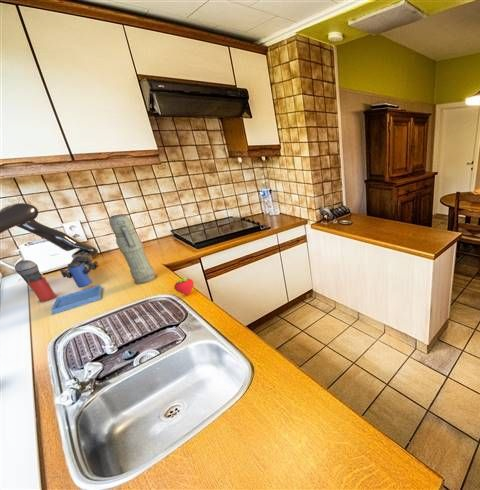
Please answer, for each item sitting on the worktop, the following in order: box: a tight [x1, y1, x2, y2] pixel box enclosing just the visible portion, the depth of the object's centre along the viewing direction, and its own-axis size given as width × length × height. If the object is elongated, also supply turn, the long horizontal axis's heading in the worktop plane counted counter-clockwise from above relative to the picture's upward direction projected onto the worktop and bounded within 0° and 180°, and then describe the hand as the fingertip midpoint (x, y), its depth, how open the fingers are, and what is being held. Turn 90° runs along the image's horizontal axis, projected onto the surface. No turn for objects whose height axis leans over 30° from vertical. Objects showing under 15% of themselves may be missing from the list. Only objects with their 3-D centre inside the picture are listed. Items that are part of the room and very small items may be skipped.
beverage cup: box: [14, 251, 42, 287], centre depth 133 cm, size 7×7×20 cm
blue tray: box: [51, 285, 103, 315], centre depth 123 cm, size 15×13×2 cm
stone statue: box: [108, 213, 157, 285], centre depth 132 cm, size 9×12×35 cm
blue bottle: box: [66, 262, 93, 288], centre depth 130 cm, size 5×5×12 cm
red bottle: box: [27, 274, 57, 303], centre depth 124 cm, size 5×5×12 cm
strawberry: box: [173, 276, 194, 296], centre depth 121 cm, size 6×8×10 cm
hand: (77, 274), depth 128 cm, fingers closed on blue bottle, 5 cm apart
